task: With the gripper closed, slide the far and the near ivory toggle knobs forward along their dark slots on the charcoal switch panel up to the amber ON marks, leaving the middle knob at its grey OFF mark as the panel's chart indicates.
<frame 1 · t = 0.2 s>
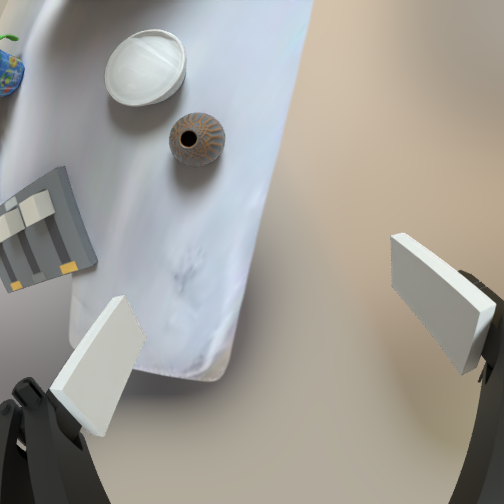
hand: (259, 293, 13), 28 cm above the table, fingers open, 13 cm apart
switch panel: (31, 236, 41), on the table
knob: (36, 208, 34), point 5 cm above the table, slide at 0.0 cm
snack cup: (14, 77, 29), on the table
ramekin: (155, 74, 32), on the table
knob mid: (9, 224, 35), point 5 cm above the table, slide at 0.0 cm
vase: (202, 139, 36), on the table
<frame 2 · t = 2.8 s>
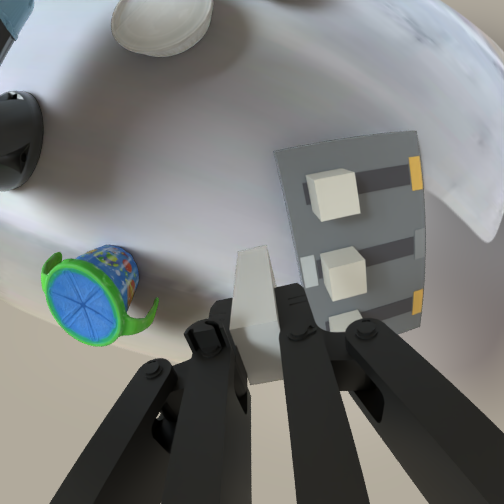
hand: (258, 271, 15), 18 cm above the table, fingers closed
switch panel: (361, 249, 34), on the table
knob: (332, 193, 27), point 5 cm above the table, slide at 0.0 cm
snack cup: (116, 268, 35), on the table
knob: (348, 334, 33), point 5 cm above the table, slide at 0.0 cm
ramekin: (171, 25, 24), on the table
knob mid: (343, 272, 30), point 5 cm above the table, slide at 0.0 cm
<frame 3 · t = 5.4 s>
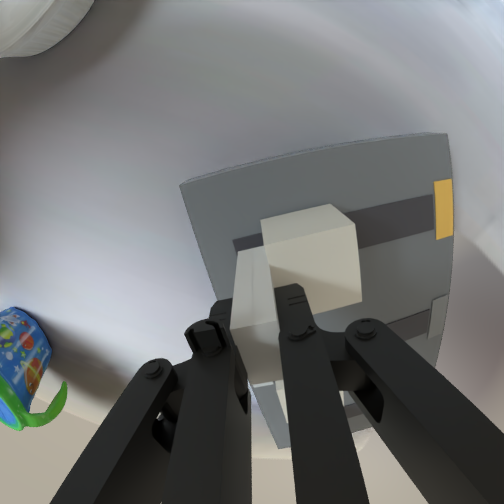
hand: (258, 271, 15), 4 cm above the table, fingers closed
switch panel: (346, 326, 21), on the table
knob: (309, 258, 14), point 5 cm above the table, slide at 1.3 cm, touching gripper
snack cup: (29, 332, 23), on the table
ramekin: (57, 8, 11), on the table
knob mid: (308, 380, 18), point 5 cm above the table, slide at 0.0 cm
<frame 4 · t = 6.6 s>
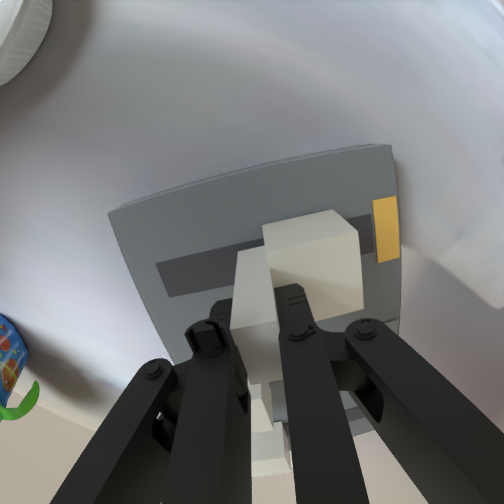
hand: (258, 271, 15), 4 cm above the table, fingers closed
switch panel: (288, 346, 22), on the table
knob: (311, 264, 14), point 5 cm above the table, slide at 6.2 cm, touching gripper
snack cup: (9, 335, 23), on the table
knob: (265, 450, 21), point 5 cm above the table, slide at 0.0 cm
ramekin: (19, 38, 11), on the table
knob mid: (238, 397, 18), point 5 cm above the table, slide at 0.0 cm
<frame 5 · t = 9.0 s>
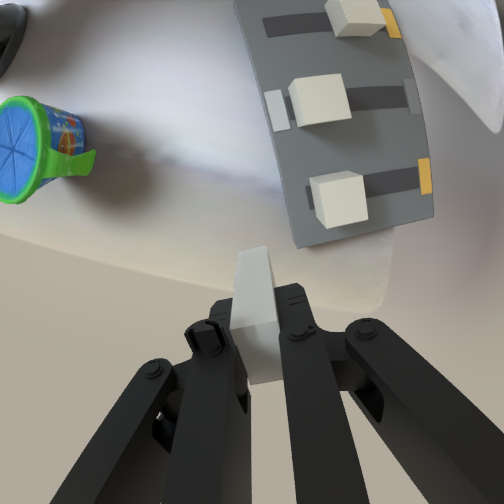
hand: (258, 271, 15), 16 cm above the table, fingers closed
switch panel: (343, 102, 25), on the table
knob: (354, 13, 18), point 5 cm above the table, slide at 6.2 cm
snack cup: (64, 142, 26), on the table
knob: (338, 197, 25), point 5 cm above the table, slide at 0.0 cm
knob mid: (318, 101, 21), point 5 cm above the table, slide at 0.0 cm
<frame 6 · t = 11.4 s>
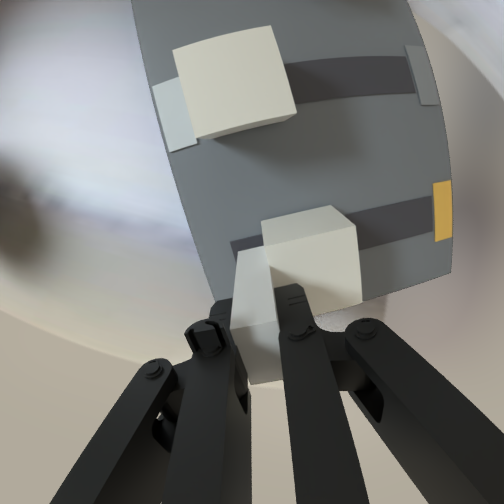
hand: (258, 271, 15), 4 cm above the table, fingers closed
switch panel: (303, 88, 15), on the table
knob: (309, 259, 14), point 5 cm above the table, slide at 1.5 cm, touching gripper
knob mid: (235, 87, 11), point 5 cm above the table, slide at 0.0 cm
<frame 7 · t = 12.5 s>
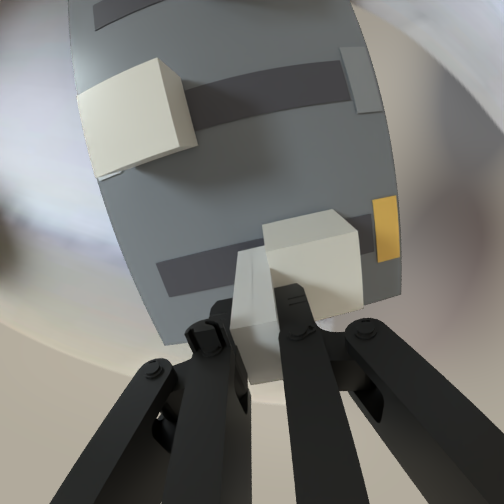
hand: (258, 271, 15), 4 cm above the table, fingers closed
switch panel: (229, 106, 15), on the table
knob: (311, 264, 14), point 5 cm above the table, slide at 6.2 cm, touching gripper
knob mid: (140, 120, 11), point 5 cm above the table, slide at 0.0 cm
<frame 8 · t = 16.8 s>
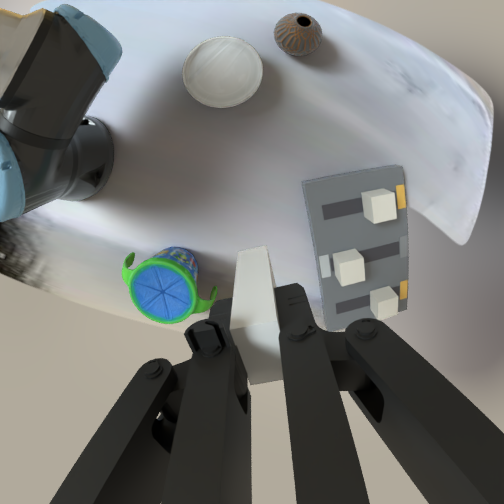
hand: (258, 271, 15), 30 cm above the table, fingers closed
switch panel: (361, 250, 47), on the table
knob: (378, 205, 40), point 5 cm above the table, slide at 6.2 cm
snack cup: (177, 265, 48), on the table
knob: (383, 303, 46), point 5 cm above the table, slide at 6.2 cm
ramekin: (225, 78, 37), on the table
knob mid: (348, 266, 43), point 5 cm above the table, slide at 0.0 cm
vase: (294, 42, 34), on the table
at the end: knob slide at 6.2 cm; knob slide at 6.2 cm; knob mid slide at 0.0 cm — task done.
